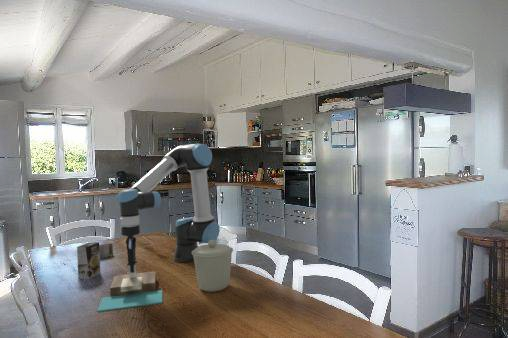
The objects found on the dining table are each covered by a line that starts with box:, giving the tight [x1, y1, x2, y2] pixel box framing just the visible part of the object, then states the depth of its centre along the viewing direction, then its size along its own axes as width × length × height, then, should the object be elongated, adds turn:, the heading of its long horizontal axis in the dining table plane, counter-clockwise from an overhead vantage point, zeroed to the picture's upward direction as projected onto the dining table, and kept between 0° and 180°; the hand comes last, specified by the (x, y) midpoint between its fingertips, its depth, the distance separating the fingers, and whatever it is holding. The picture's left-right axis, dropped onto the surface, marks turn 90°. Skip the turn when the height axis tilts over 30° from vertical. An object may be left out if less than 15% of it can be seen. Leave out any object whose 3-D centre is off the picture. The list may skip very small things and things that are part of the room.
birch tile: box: [121, 277, 142, 292], centre depth 149 cm, size 8×8×2 cm
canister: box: [192, 240, 234, 293], centre depth 154 cm, size 18×18×21 cm
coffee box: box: [76, 241, 101, 280], centre depth 176 cm, size 9×6×16 cm
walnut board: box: [109, 271, 157, 297], centre depth 158 cm, size 18×16×4 cm
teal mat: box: [96, 289, 163, 313], centre depth 143 cm, size 24×13×1 cm, turn 105°
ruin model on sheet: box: [99, 242, 114, 259], centre depth 210 cm, size 11×3×10 cm, turn 131°
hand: (132, 279), depth 154 cm, fingers closed
